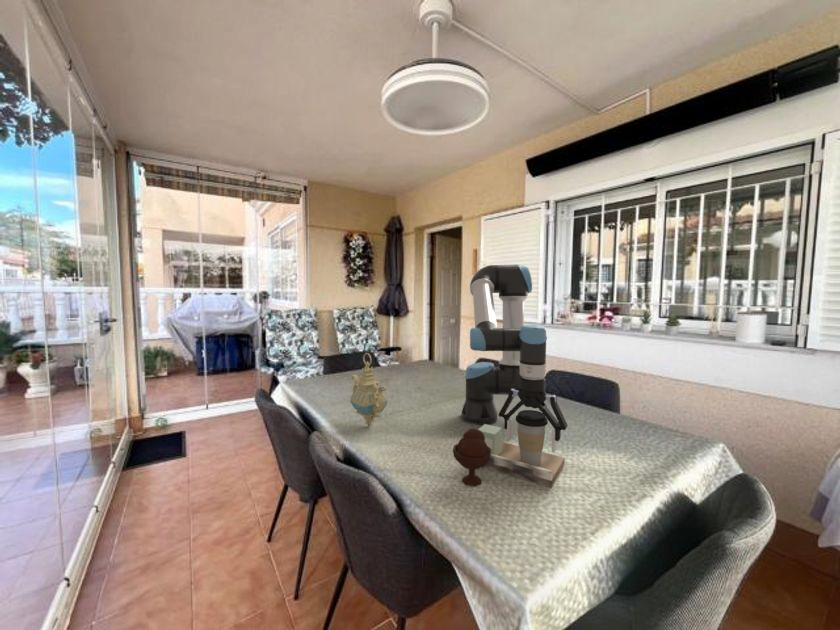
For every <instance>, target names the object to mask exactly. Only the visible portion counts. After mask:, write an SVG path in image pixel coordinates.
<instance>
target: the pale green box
mask: <svg viewBox="0 0 840 630" xmlns="http://www.w3.org/2000/svg"><path fill="white" fill-rule="evenodd" d="M477 429H478V430H480V431H481V432H482V433H483V434H484V437H485V443H486V444H487V446H488V447H489V448H491V454H494V455H499V454H500V453H501V452H502V442H503V428H502V427H500V426H496V425H495V426H494V425H490V424H482V426H481V427H479V428H477Z"/></svg>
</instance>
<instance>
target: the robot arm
mask: <svg viewBox="0 0 840 630" xmlns="http://www.w3.org/2000/svg"><path fill="white" fill-rule="evenodd" d="M469 290H470V294H471V295H472V298H473V299H472V301H473V315H474V317H473V319H474V327H473V328H470V329H469V330H470V331H469V348H470V350H472V351H477V352H502V358H501V359H500V360H498V366H495V365H494V363H493V362H487V361H481V362H480V361H479V362H475V363H472V364H468V366H466V368H465V376H464V378H465V400H464V404H463V406H462V409H461V419H462V420H463V421H464V422H465V423H466V422H467V423H470V424H474V425H484V424H487V425H490V424H493V423H496V422H497V421H498V419H499V418H498V417H500V418H502V419H503V420H504V423H503V424H504V426H503V427H504V428H503V429H505V430H506V441H507V442H510V441H511V440H512V439H513V420H514V419H513V418H512V416H513V414H515V413H516V412H517V411H518V410H519V409H520V408H521V407H522V406H525V407H526V408H532V409H538V410H539V412H541V413H543V414H544V415H545V417H546V418H547V420H548V423H549V424H551V426H552V427H553V429H552V430H551V453H555V452H556V451H557V445H558V444H557V443H558V442H559V441H560V440H561V438H562V437H561V435H562V434H561V433H562V431H565V430H567V428H568V423H567V421H566V419H565V417H564V414H563V412H562V411H561V410H562V409H561V408H560V406H559V404H558V400H557V399H558V398H557V395H556V394H552V395H547V393H546V378H545V377H546V376H547V374H546V370H547V369H546V368H547V367H546V363H547V360H546V359H547V339H548V337H547V328H546V327H545V326H543V325H536V324H526V325H525V324H524V323H525V314H524V313H525V310H524V309H525V308H524V307H525V301H526V299H528V297H529V296H528V295H529V294H530V293H532V291H533V277H532V274H531V269H530V268H529V267H528V265H525V264H517V263H516V264H491V265H490V264H489V265H487V266H486V265H485V266H483V267H482V268H480V269H479V270H478V271H477V272H476V273H475V274H473V276H472V278H471V281H470V284H469ZM493 293H495V294H498V298H499V299H500V300H501V301H502V328H501V327H499V328H498V323H497V316H496V311H495V310H496V308H495V301H494V296H493V295H494V294H493ZM494 395H496V396H497V395H504V396H507V398H506V400H505V401H504V403H503V404H502V405H503V406H502V407H501V409H500V411H499V413H498V411H497V408H496V405H495V402H494ZM516 397H518V398H519V401H518V402H517V404H516V405H515V406H514V407H512V408H511V410H509V411H508V412H507V410H508V409H509V407H510V405H511V404H512V402H513V400H514V398H516ZM545 401H548V403H549V404H550V407H551V409H552V411H553V413H554V415H553V413H552V412H551V411H550V409H549V407H548V405H547V404H546V402H545Z"/></svg>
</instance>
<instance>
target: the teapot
mask: <svg viewBox="0 0 840 630" xmlns="http://www.w3.org/2000/svg"><path fill="white" fill-rule="evenodd" d="M366 355H368V357H369V361H368V360H367V361H366V360H365V356H366ZM362 359H363V360H362V361H363V364H364V367H361V369H362V373H360V374H361V377H360V379H359V376H358V375H357V374H352V375H351V380H354V384H353V388H352V395H351V396H350V400H349V401H350V404H351V406H352V407H353V408H354V409H355V410H356V411H355V413H356V414H358V415H360V416H362V417H363V419H364V420H365V424H366V426H367V427H368V426H369V427H368V428H370V427H373V424H372V423H373V422H374V420H375V419H377V418H380V417H381V414H382V412H383V411H384V409H385V408H386V407H387V405H388V399H387V396H386V395H385V393H383V392H385V391H387V387H386V385H381V386H378V385H380V384H381V382H380V381H378V380H376V377H375V376H374V375H375V373H373V372H374V369H373V368H374V367H373V366H371V365H372V360H373V359H372V356H371V354H370V353H368V352H365V353H364V354H363V356H362ZM370 366H371V367H370Z"/></svg>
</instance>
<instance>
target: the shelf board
mask: <svg viewBox="0 0 840 630" xmlns="http://www.w3.org/2000/svg"><path fill="white" fill-rule="evenodd" d="M565 460H566V458H565V457H563V456H558V455H555V454H551V453H547V452H543V451H542V456H541V463H540V465H539V466H534V465H530V464H526V463H523V462H521V458H520V447H519V445H516V444H512V443H508V442H505V441H504V442H503V441H502V452H501V453H500V454H499V455H494V454H491V455H490V459H489V461H488V463H487V464H486V465H484V466H483V467H482V468H484V469H488V470H491V471H495V472H498V473H501V474H504V475H508V476H510V477H515V478H516V479H517V478H518V479H521V480H524V481H528V482H531V483H534V484H537V485H540V486H544V487H548V488H551V489H552V487H553V485H554V483H555V481H556V480H557V478H558V476H559V474H560V473H561V471H562V469H563V467H564V466H565V464H566V461H565Z"/></svg>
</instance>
